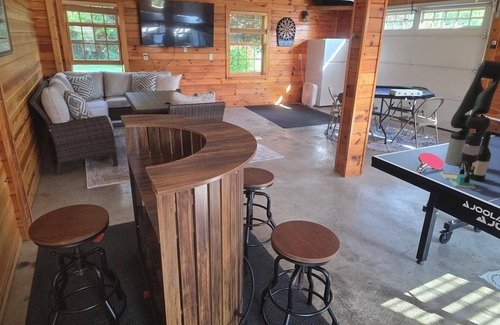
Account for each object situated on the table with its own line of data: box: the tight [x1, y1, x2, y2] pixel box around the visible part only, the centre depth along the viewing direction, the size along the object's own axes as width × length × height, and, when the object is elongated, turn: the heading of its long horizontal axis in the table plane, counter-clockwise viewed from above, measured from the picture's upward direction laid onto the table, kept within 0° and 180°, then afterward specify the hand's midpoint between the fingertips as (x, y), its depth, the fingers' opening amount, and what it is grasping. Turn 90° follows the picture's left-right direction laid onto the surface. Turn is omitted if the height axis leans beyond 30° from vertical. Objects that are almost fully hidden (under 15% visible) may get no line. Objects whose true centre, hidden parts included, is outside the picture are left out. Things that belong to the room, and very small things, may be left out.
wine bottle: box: [469, 129, 492, 182], centre depth 189 cm, size 8×8×30 cm
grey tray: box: [440, 171, 460, 181], centre depth 196 cm, size 10×10×1 cm
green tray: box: [449, 179, 476, 190], centre depth 186 cm, size 10×10×1 cm
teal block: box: [456, 174, 471, 186], centre depth 185 cm, size 5×5×5 cm
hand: (463, 179), depth 184 cm, fingers open, 8 cm apart
